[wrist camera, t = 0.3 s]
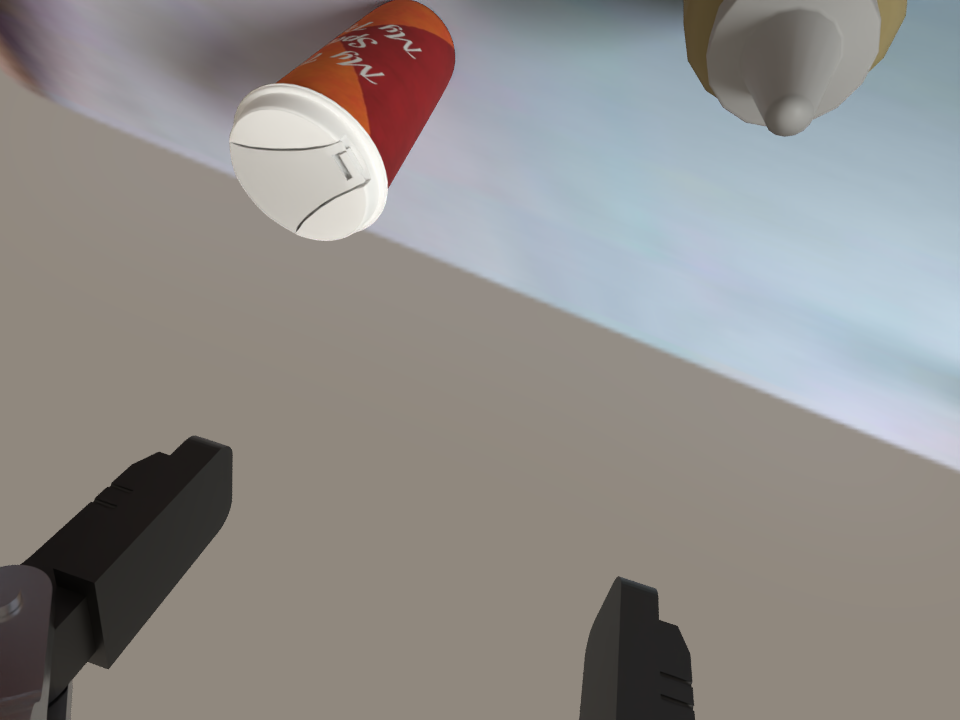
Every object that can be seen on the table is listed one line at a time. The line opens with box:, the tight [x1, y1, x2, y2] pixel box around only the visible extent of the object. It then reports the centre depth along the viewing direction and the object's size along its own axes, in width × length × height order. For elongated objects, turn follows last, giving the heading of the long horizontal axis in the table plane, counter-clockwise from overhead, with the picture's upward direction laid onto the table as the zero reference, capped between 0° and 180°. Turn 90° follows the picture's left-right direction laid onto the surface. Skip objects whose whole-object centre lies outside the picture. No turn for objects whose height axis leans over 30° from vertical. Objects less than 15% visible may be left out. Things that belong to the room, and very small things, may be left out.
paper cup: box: [229, 0, 455, 241], centre depth 33 cm, size 8×8×14 cm
